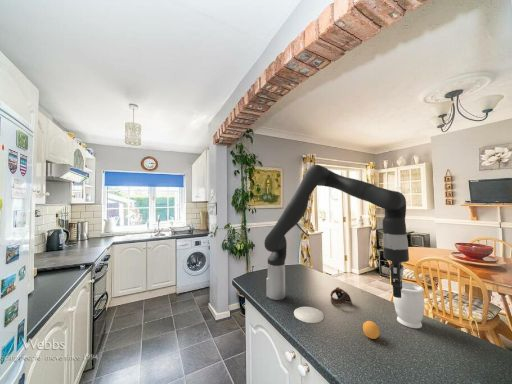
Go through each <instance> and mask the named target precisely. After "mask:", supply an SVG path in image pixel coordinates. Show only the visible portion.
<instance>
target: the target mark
mask: <svg viewBox="0 0 512 384" xmlns="http://www.w3.org/2000/svg"><path fill="white" fill-rule="evenodd" d="M293 314H294V317H295V319H297V320H299V321H301V322H304V323H307V324H317V323H320V322H323V321H324V318H325V315H324V313H323V312H322V311H321V310H319V308H318V309H317V308H315V307H311V306H300V307H297V308H295V310H294V311H293Z"/></svg>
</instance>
